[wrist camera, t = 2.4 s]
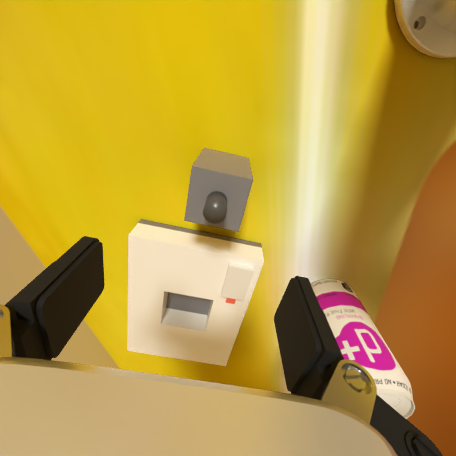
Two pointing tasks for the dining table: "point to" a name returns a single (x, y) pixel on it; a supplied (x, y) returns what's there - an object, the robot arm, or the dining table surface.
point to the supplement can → (364, 342)
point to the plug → (218, 189)
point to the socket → (188, 291)
